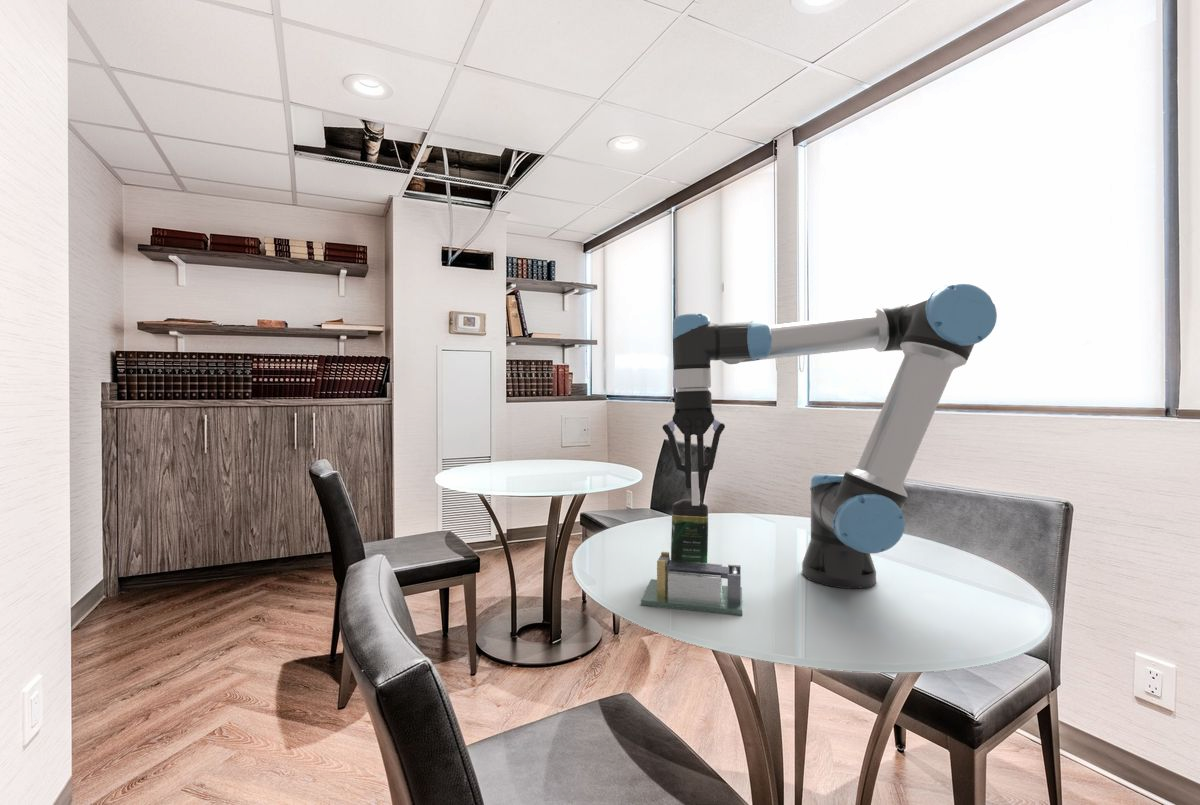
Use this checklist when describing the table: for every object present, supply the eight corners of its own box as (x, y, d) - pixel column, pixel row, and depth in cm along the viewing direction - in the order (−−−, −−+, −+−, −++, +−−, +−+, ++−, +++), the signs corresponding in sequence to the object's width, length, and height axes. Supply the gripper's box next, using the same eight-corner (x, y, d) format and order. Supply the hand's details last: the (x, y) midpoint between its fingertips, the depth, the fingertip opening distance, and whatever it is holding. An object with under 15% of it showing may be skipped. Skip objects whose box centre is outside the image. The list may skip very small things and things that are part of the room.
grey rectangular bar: (729, 572, 107) (729, 564, 107) (728, 578, 103) (729, 570, 103) (659, 563, 110) (660, 555, 110) (656, 569, 107) (657, 561, 107)
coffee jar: (709, 591, 110) (710, 500, 113) (671, 588, 111) (673, 498, 114) (704, 582, 120) (705, 498, 122) (669, 580, 121) (671, 497, 123)
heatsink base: (741, 592, 110) (741, 553, 110) (742, 615, 99) (742, 572, 99) (650, 583, 115) (650, 547, 115) (641, 605, 103) (641, 564, 103)
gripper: (724, 389, 112) (727, 501, 112) (662, 391, 115) (666, 500, 115) (725, 389, 105) (728, 508, 105) (659, 391, 108) (662, 507, 108)
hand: (695, 504), depth 110 cm, fingers closed
